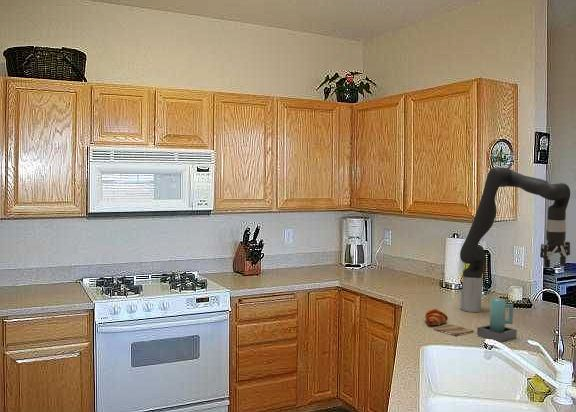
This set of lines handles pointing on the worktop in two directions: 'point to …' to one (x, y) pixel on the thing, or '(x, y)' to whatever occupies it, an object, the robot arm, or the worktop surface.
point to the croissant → (435, 317)
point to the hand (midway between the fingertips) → (554, 266)
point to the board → (454, 329)
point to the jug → (499, 314)
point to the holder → (497, 333)
